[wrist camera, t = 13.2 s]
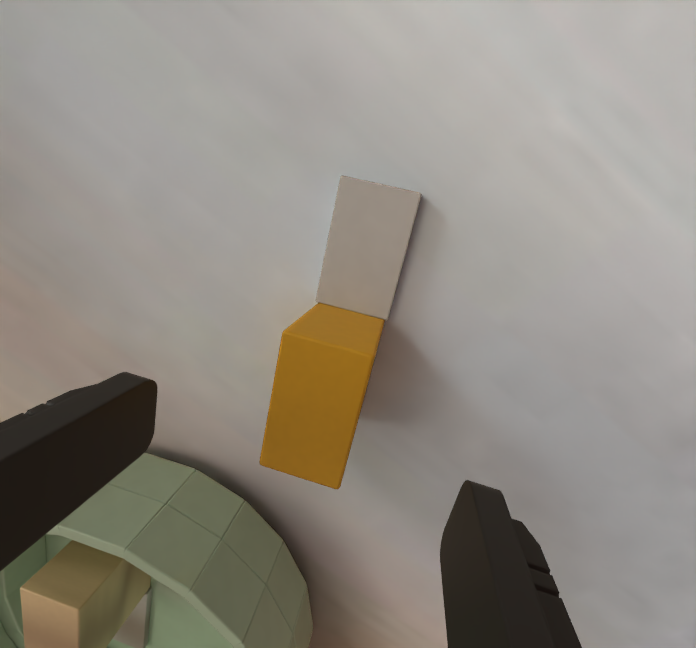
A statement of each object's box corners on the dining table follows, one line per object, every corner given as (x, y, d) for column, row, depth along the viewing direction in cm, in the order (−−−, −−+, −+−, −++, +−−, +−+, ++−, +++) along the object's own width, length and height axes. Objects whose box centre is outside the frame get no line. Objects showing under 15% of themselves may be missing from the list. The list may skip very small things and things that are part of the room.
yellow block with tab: (360, 419, 14) (341, 492, 10) (297, 400, 15) (254, 464, 11) (421, 194, 12) (427, 175, 8) (342, 176, 12) (309, 149, 8)
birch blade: (107, 504, 17) (16, 586, 13) (157, 522, 17) (80, 611, 13) (104, 626, 20) (28, 725, 16) (148, 643, 20) (81, 748, 16)
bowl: (28, 402, 17) (-109, 464, 13) (346, 506, 16) (320, 620, 11) (41, 627, 22) (-55, 730, 18) (285, 724, 20) (249, 867, 16)
